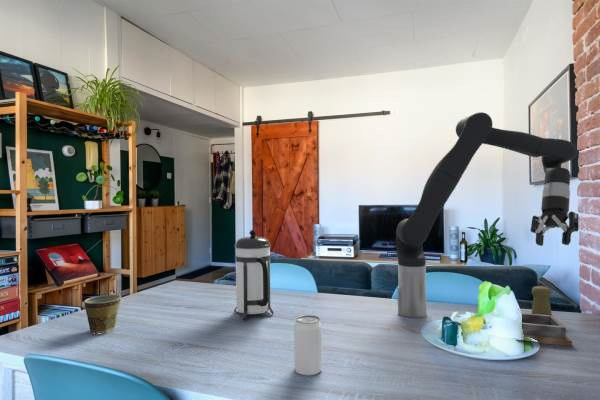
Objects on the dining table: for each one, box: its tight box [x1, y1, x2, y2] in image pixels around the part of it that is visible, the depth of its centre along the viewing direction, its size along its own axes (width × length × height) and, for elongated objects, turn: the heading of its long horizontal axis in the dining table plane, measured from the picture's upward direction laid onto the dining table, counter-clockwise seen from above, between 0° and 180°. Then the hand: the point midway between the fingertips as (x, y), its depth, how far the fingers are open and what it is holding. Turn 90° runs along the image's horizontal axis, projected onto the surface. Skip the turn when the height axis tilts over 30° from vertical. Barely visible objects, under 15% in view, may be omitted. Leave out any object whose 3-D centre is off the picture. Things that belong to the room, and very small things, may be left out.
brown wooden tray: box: [521, 312, 573, 347], centre depth 103 cm, size 13×13×4 cm
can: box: [293, 314, 323, 377], centre depth 83 cm, size 6×6×12 cm
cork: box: [530, 285, 553, 316], centre depth 115 cm, size 6×6×11 cm
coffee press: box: [233, 229, 275, 321], centre depth 125 cm, size 17×16×30 cm
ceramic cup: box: [83, 294, 121, 335], centre depth 112 cm, size 13×10×10 cm
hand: (552, 244), depth 116 cm, fingers open, 8 cm apart
